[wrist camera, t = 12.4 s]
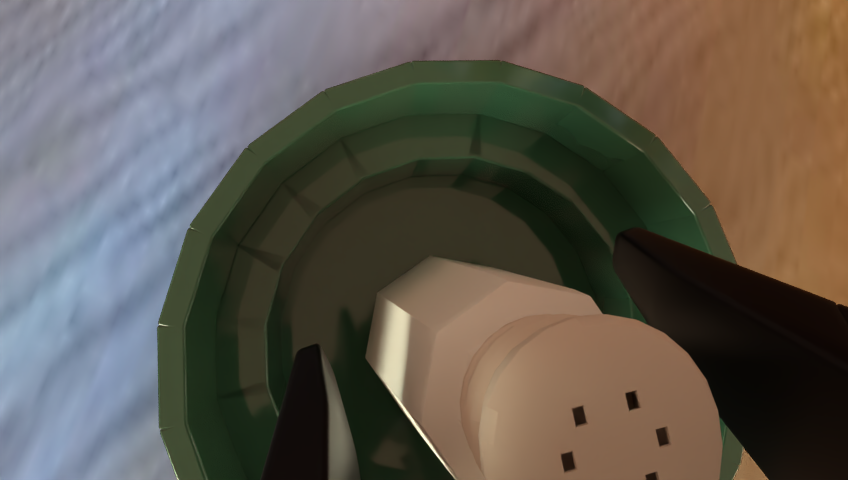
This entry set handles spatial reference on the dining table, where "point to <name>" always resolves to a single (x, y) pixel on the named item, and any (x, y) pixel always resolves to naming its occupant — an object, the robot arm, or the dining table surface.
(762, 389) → the robot arm
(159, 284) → the dining table surface
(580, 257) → the bowl
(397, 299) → the pepper shaker
